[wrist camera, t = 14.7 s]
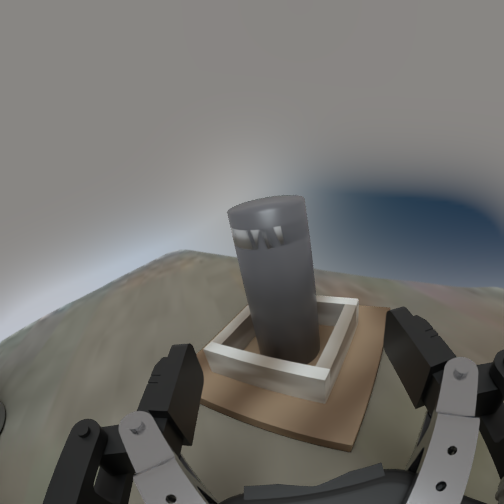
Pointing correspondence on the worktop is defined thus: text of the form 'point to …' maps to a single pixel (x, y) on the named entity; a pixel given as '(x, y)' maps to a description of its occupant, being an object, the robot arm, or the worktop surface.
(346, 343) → the mount board
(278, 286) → the dark grey cylinder
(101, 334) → the worktop surface
